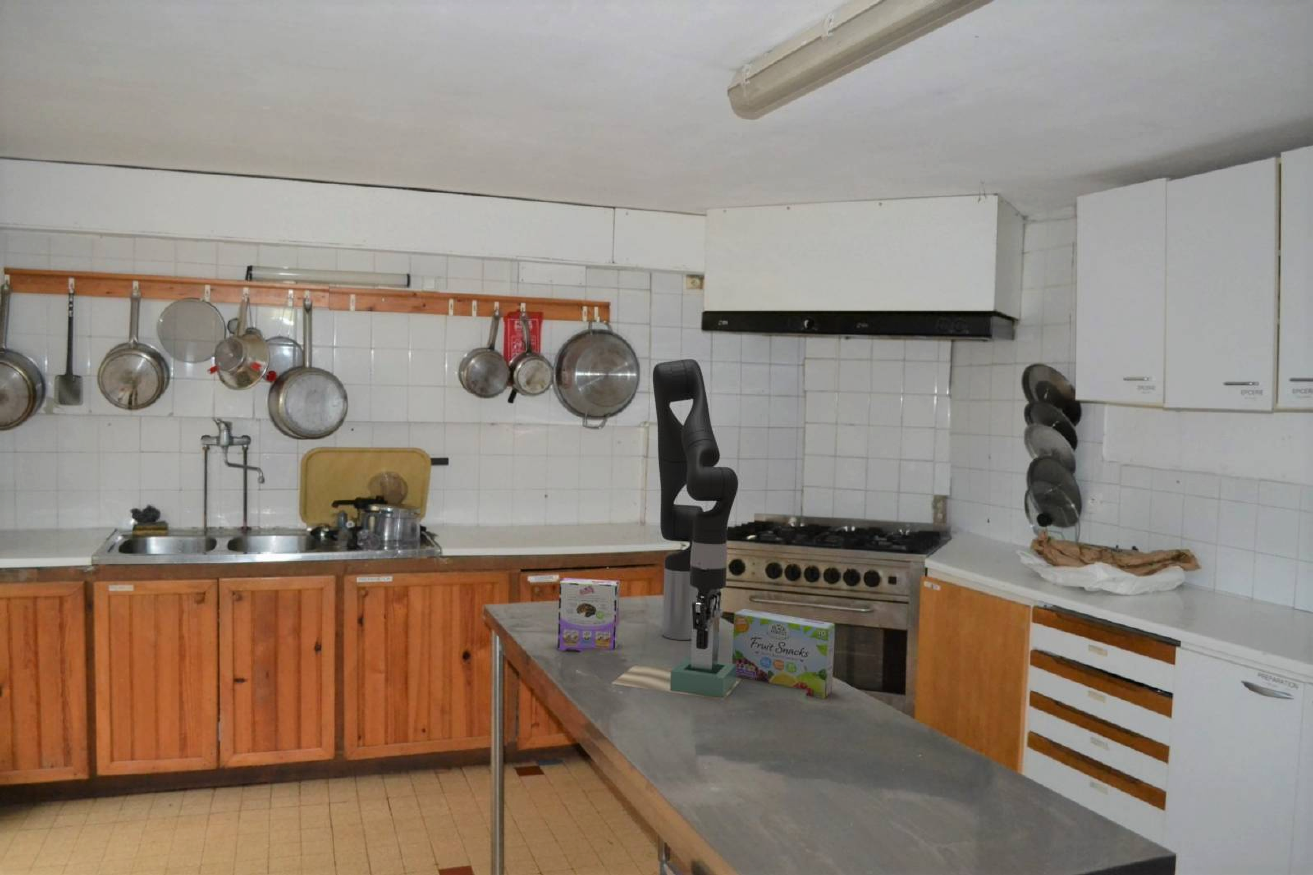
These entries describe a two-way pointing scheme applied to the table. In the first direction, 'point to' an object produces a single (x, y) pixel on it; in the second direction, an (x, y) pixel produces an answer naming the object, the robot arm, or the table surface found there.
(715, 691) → the teal hollow square frame
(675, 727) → the table surface
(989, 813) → the table surface
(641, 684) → the board
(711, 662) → the stepped grey pillar
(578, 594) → the candy box
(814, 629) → the snack box
